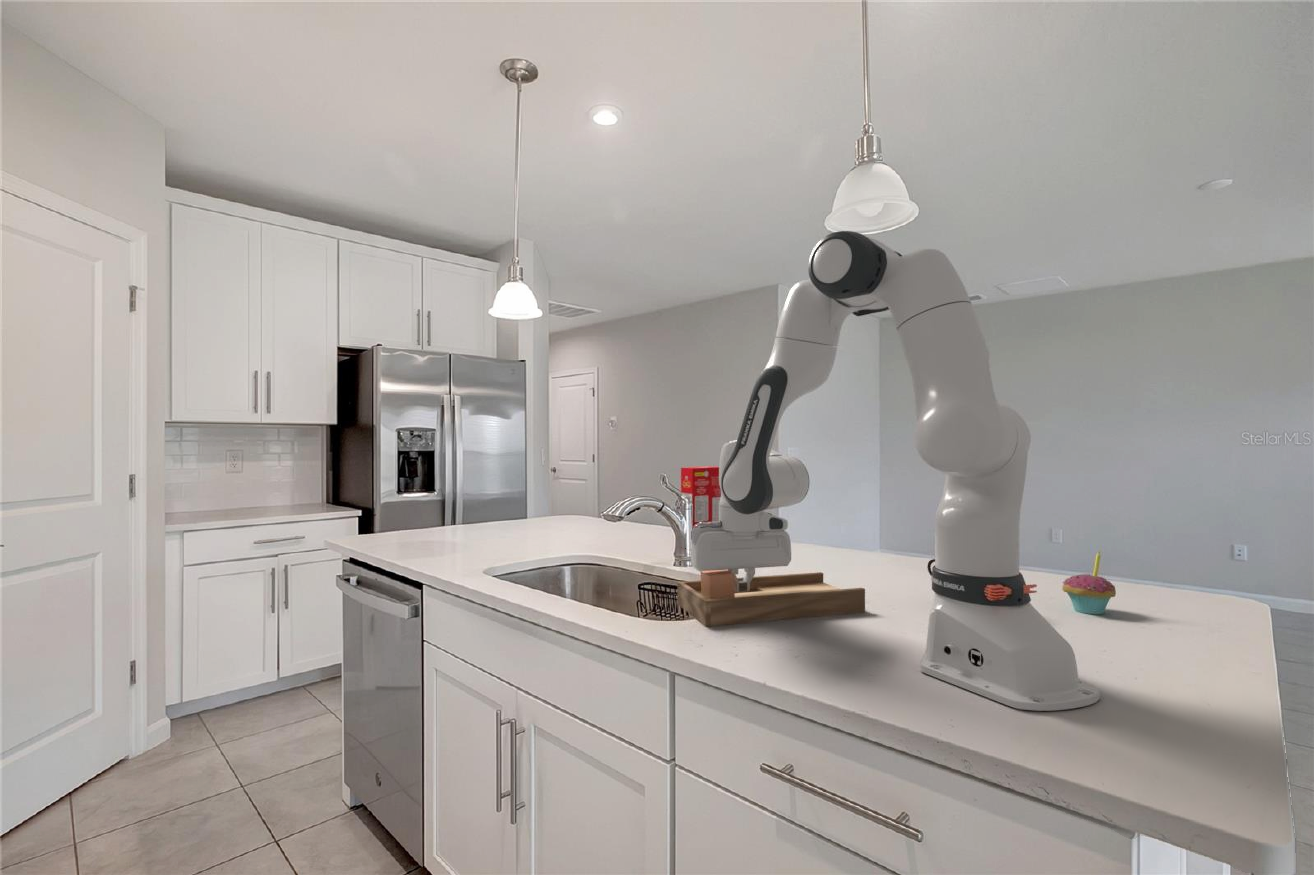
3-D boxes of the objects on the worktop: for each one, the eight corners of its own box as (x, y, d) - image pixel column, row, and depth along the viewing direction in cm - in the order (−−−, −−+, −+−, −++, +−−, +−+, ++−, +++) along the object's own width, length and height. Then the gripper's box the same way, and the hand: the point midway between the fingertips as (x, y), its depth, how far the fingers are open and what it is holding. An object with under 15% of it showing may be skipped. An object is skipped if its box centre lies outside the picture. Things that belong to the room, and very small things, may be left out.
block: (734, 599, 120) (733, 573, 120) (710, 602, 118) (709, 576, 118) (725, 593, 124) (724, 568, 124) (701, 596, 123) (700, 571, 123)
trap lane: (865, 612, 121) (865, 588, 121) (705, 626, 111) (705, 601, 112) (820, 592, 136) (820, 572, 136) (677, 604, 127) (677, 581, 127)
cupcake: (1099, 606, 125) (1098, 546, 125) (1126, 618, 117) (1126, 554, 117) (1053, 605, 126) (1053, 545, 126) (1078, 617, 117) (1077, 553, 117)
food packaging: (714, 543, 203) (714, 466, 204) (726, 545, 199) (726, 467, 200) (681, 548, 194) (680, 467, 194) (692, 550, 190) (692, 468, 190)
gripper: (696, 524, 117) (696, 598, 117) (795, 520, 122) (795, 591, 122) (686, 520, 123) (685, 590, 123) (780, 516, 128) (780, 584, 128)
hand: (741, 590), depth 122 cm, fingers closed
